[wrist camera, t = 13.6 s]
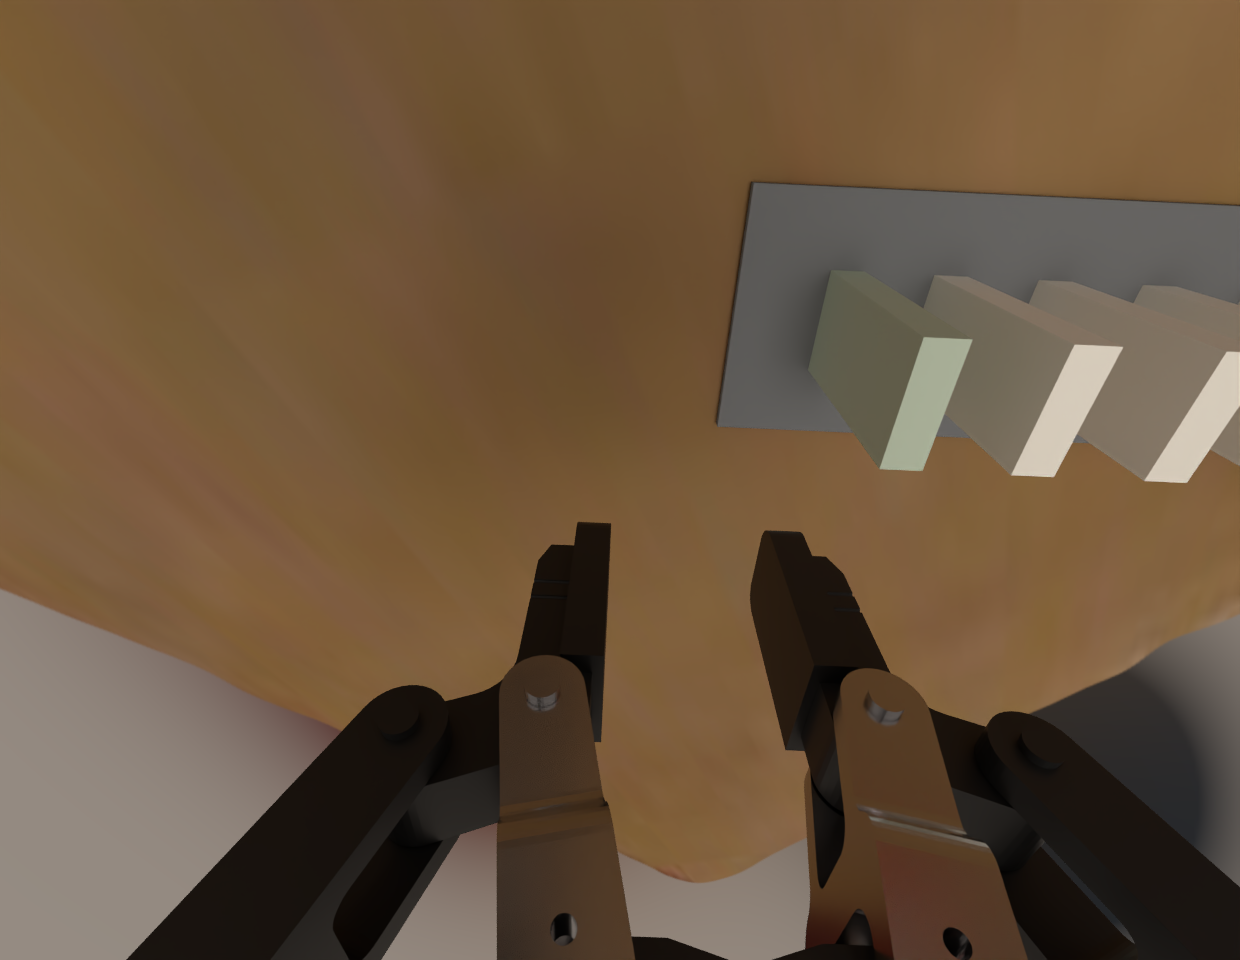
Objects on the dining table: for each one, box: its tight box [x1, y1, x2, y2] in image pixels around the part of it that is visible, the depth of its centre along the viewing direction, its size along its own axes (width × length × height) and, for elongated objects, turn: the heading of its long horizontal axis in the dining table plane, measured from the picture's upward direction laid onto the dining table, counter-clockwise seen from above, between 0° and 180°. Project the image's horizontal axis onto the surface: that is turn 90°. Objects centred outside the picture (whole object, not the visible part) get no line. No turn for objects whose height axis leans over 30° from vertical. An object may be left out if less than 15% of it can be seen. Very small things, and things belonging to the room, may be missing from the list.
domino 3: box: [1029, 280, 1240, 483], centre depth 24 cm, size 2×5×10 cm, turn 178°
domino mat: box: [716, 182, 1240, 443], centre depth 28 cm, size 35×12×1 cm, turn 88°
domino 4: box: [1134, 285, 1240, 466], centre depth 24 cm, size 2×5×10 cm, turn 178°
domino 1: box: [808, 270, 973, 471], centre depth 24 cm, size 2×5×10 cm, turn 177°
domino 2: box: [924, 275, 1123, 477], centre depth 24 cm, size 2×5×10 cm, turn 178°
